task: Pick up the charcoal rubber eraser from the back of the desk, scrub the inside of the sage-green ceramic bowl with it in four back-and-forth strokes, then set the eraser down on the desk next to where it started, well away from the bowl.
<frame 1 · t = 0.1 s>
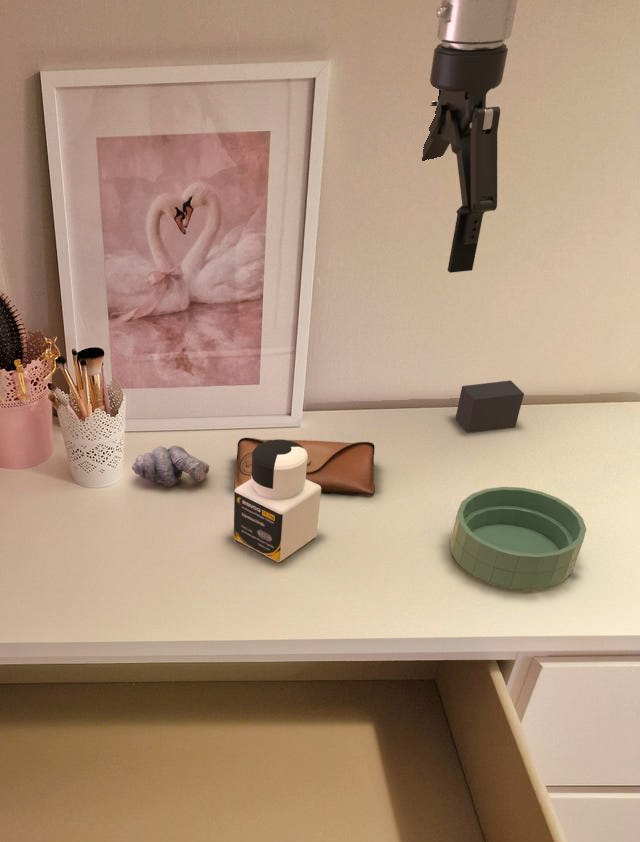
hand: (437, 251, 106), 23 cm above the table, tool pointing down, fingers open, 13 cm apart
seashell: (171, 482, 113), on the table
eraser: (485, 423, 120), on the table
bowl: (510, 556, 98), on the table
sunglasses case: (304, 479, 112), on the table
medicine bottle: (274, 539, 103), on the table
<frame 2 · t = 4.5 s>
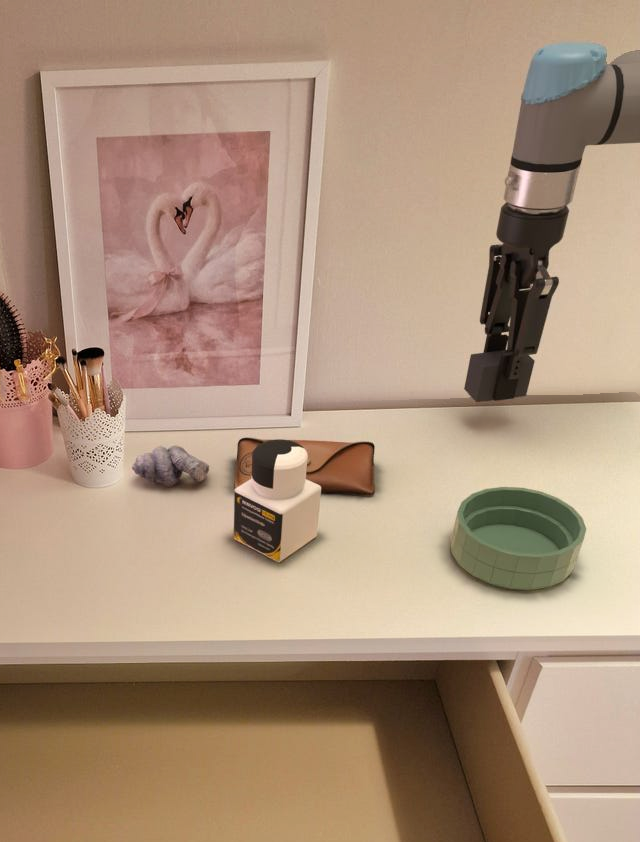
hand: (495, 390, 117), 5 cm above the table, tool pointing down, fingers closed on eraser, 4 cm apart
eraser: (494, 392, 117), point 5 cm above the table, touching gripper
everything else where it was.
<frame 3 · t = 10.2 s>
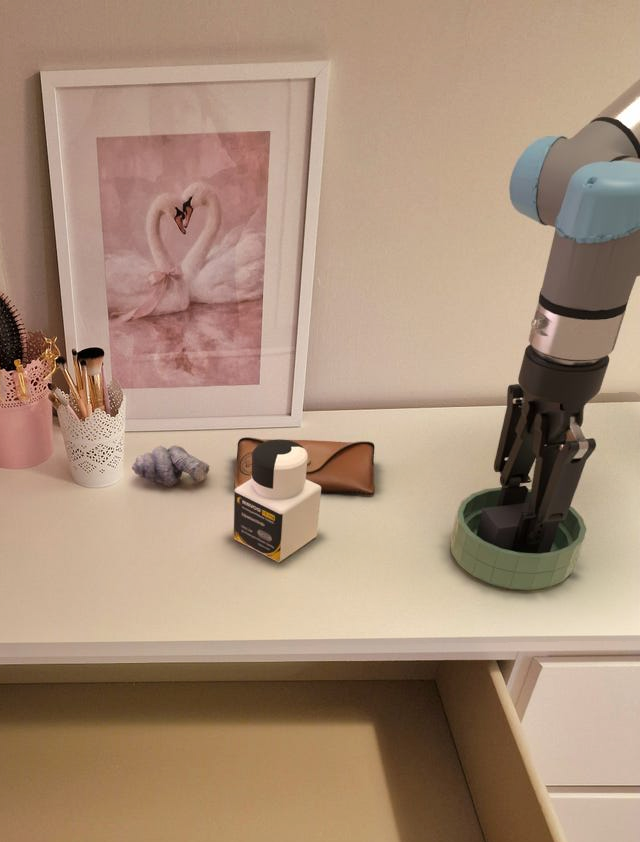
hand: (511, 548, 98), 1 cm above the table, tool pointing down, fingers closed on eraser, 4 cm apart
eraser: (510, 551, 98), point 1 cm above the table, touching gripper
everything else where it was.
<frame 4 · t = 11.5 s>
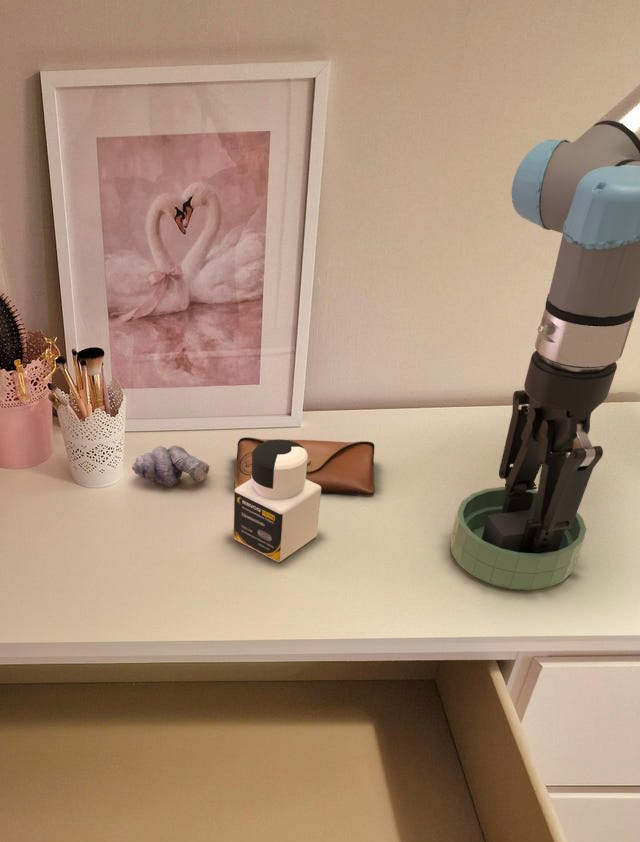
hand: (516, 556, 97), 1 cm above the table, tool pointing down, fingers closed on eraser, 4 cm apart
eraser: (515, 558, 97), point 1 cm above the table, touching gripper
everything else where it was.
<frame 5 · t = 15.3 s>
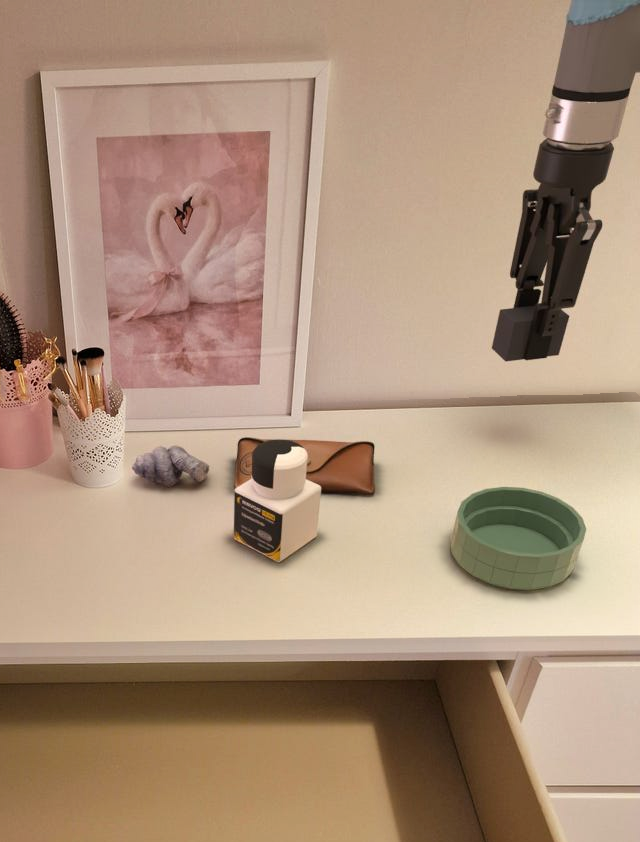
hand: (525, 349, 109), 12 cm above the table, tool pointing down, fingers closed on eraser, 4 cm apart
eraser: (524, 351, 109), point 12 cm above the table, touching gripper
everything else where it was.
when the fingers open (0 cm above the table, at t = 18.4 s): eraser stays where it is, on the table.
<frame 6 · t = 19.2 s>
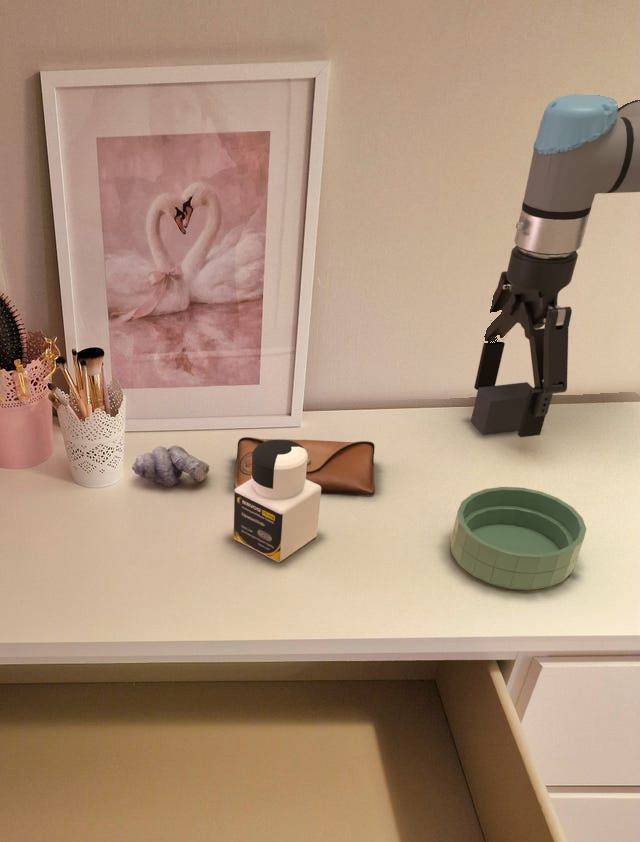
hand: (505, 410, 118), 2 cm above the table, tool pointing down, fingers open, 13 cm apart
eraser: (500, 425, 120), on the table
everything else where it was.
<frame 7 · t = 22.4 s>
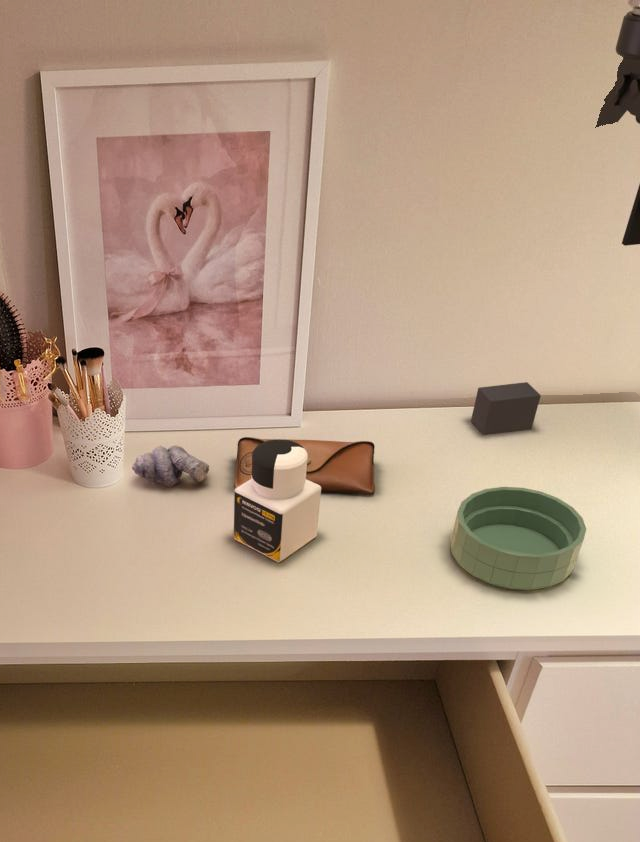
hand: (603, 225, 105), 25 cm above the table, tool pointing down, fingers open, 13 cm apart
nothing on the table moved.
at the end: eraser 0.1 cm from the target spot on the table beside the bowl, on the table; the gripper is holding nothing; eraser tilted 0° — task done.
